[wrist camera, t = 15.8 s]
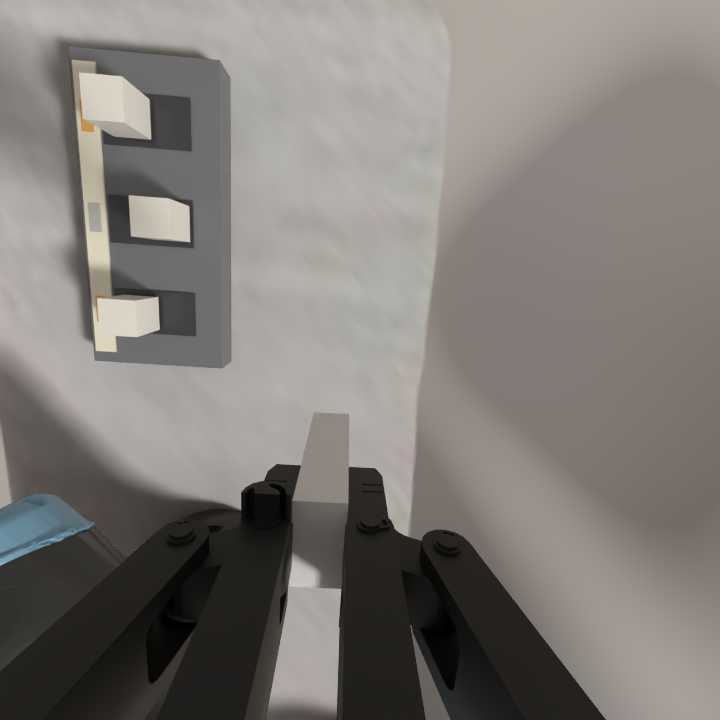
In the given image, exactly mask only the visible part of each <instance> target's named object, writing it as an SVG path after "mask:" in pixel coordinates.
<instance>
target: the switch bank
mask: <svg viewBox="0 0 720 720" xmlns="http://www.w3.org/2000/svg"><path fill="white" fill-rule="evenodd" d="M68 49H69V61H70V72H71V84H72V96H73V108H74V120H75V132H76V143H77V155H78V167H79V179H80V191H81V203H82V214H83V226H84V238H85V250H86V262H87V274H88V285H89V297H90V309H91V321H92V333H93V345H94V356H95V361H111V362H127V363H143V364H159V365H176V366H192V367H208V368H223V367H224V366H226V365H227V364H228V363H230V362H231V152H230V76H229V75H228V73H227V72H226V70H225V68H224V67H223V65H222V64H221V62H220V60H211V59H200V58H190V57H179V56H168V55H157V54H146V53H136V52H125V51H114V50H103V49H92V48H81V47H71V46H68ZM79 72H80V73H91V74H102V75H113V76H122V77H123V78H125V79H126V80H127V81H128V82H129V83H131V84H132V85H133V86H134V87H135V88H137V89H138V90H139V91H140V92H141V93H143V94H144V95H145V96H146V97H147V98H149V100H150V122H151V140H149V139H137V138H125V137H114V136H112V135H111V134H109V133H107V132H105V131H103V130H102V129H100V128H98V127H96V126H94V125H92V124H91V123H89V122H87V121H85V120H83V117H82V104H81V92H80V79H79ZM129 195H131V196H144V197H157V198H169V199H171V200H174V201H177V202H179V203H182V204H185V205H187V206H189V215H190V242H180V241H166V240H154V239H147V238H140V237H132V236H131V228H130V211H129ZM118 295H136V296H151V297H158V301H159V324H160V330H157V331H154V332H151V333H148V334H145V335H142V336H139V337H126V336H111V335H100V330H99V317H98V305H97V298H102V297H110V296H118Z"/></svg>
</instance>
